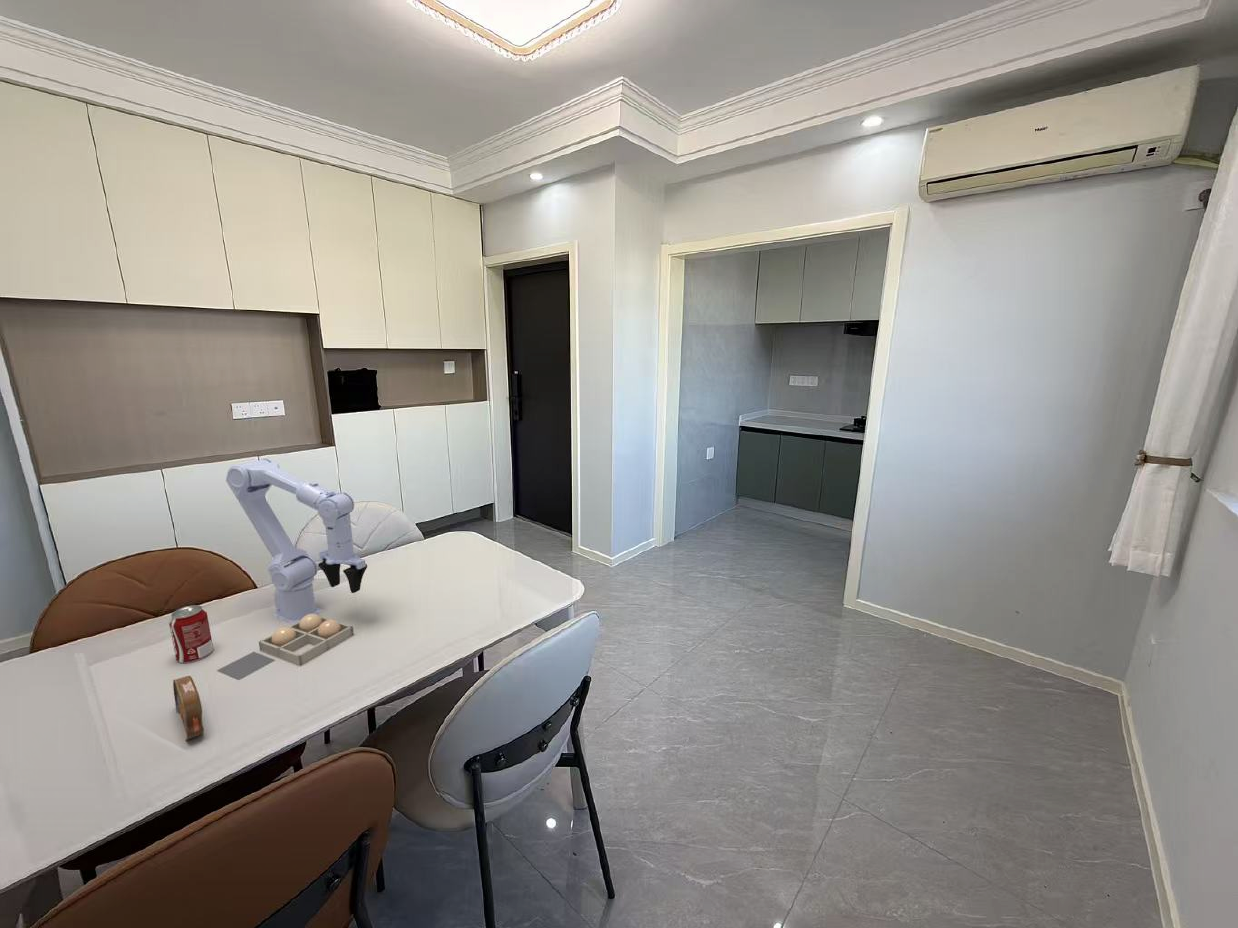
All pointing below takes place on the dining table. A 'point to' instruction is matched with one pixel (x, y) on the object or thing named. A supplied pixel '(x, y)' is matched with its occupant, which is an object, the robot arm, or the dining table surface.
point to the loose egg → (283, 636)
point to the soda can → (190, 634)
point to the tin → (188, 706)
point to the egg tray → (303, 639)
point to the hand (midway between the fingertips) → (345, 588)
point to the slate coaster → (245, 665)
